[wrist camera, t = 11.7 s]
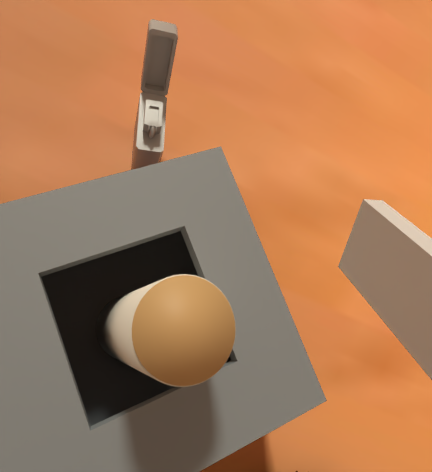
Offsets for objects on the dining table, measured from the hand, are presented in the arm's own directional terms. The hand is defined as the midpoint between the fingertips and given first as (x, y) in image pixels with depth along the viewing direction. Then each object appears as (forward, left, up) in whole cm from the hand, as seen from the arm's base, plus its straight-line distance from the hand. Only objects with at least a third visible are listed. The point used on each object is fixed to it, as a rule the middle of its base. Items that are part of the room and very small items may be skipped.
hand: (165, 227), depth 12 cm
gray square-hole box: (-1, -2, -16) cm, 16 cm away
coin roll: (-1, -2, -15) cm, 15 cm away
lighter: (+5, +11, -16) cm, 20 cm away
